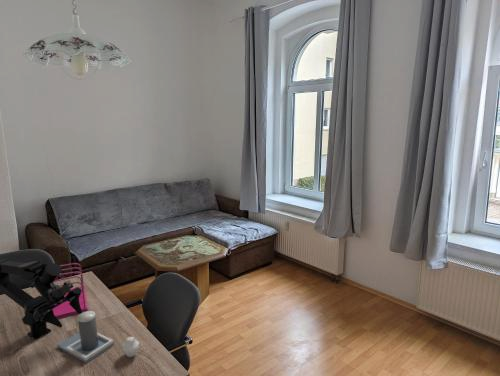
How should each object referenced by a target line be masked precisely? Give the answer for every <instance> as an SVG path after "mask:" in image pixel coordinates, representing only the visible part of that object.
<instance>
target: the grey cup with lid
mask: <svg viewBox="0 0 500 376" xmlns="http://www.w3.org/2000/svg"><path fill="white" fill-rule="evenodd" d="M77 322H78V331H79V332H80V340H81V349H82V350H83V351H91V350H93V349H95V348H97V347H98V345H99V343H98V334H97V333H98V328H97V318H96V312H95V311H94V310H88V311H86V312H82V313H81V314H78V315H77ZM79 332H78V333H79Z"/></svg>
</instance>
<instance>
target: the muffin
mask: <svg viewBox="0 0 500 376" xmlns="http://www.w3.org/2000/svg"><path fill="white" fill-rule="evenodd" d="M139 347H140V343H139V340H137V339H136V338H135V337H134V336H128V337H127V338H126V339H125V340H124V343H123V344H122V345H121V350H122V352H123V354H125V355H126V357H128V358H132V357H135V356H136V355H137V353H138V351H139Z"/></svg>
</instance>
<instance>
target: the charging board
mask: <svg viewBox="0 0 500 376" xmlns="http://www.w3.org/2000/svg"><path fill="white" fill-rule="evenodd" d="M97 334H98V343H99V345H98V347H97V348H95V349H93V350H91V351H83V350H82V349H81V340H80V332H78V333H76V334H74V335H72V336H70V337H69V338H67V339H65V340H63V341H61V342H60V343H57V344H56V347H57V348H58V349H60V350H61V351H63V352H65V353H67V354H68V355H71V356H73V357H74V358H76V359H78V360H79V361H82V362H83V363H85V364H87V363H88V362H90V361H92V360H93V359H94V358H96V357H98V356H99V355H101V354H102V353H103V352H106V351H107V350H108V349H110V348H111V347H113V346H115V343H114V342H115V341H114V339H112V338H110V337H108V336H105V335H103V334H102V333H100V332H97Z"/></svg>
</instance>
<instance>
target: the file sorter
mask: <svg viewBox="0 0 500 376" xmlns="http://www.w3.org/2000/svg"><path fill="white" fill-rule="evenodd" d="M59 265H60V264H59ZM74 265H76V266H79V267H76V266H74ZM60 266H61V268H62V267H68V266H74V267H69V268H64V269H62V272H63V271H70V270H74V269H75V270H76V269H77V270H79V271H71V272H65V273H60V275H59V276H65V275H70V274H80V276H78V275H74V276H69V277H63V278H60V279H59V278H58V279H56V280H55V281H54V282H53V283H55V282H59V281H65V280H70V279H73V278H74V279H76V278H78V279H79V280H80V281H73V282H71V283H72V285H73V284H80V286H78V287H79V288H80V289H81V290H82V292H81V295H80V296H79V303H80V307H81V310H82V313H83V312H86V311H89V310H88V302H87V297H86V296H87V295H86V289H85V286H84V278H83V277H84V275H83V273H82V271H83V270H82V265H81V264H80V263H77V262H72V263H67V264H61V265H60ZM58 285H59V286H60V287H62V286H64V285H63V284H58ZM74 288H75V287H73V288H71V290H73V289H74ZM68 293H69V292H68ZM68 293H67V294H68ZM67 294H66V295H67ZM66 295H65V296H66ZM65 296H64V297H65ZM69 303H70V302H68V301H66V302H64V303H62V304H61V305H59V306H57V307H55V308H54V309H53V313H54V315H55V316H56V317H57V319H58V320H59V319H62V318H65V317H69V316H74V315H79V313H77V312H76V311H75V310H74V309H73V308H72V307H71V306H70V305H69ZM55 305H56V304H55Z"/></svg>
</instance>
